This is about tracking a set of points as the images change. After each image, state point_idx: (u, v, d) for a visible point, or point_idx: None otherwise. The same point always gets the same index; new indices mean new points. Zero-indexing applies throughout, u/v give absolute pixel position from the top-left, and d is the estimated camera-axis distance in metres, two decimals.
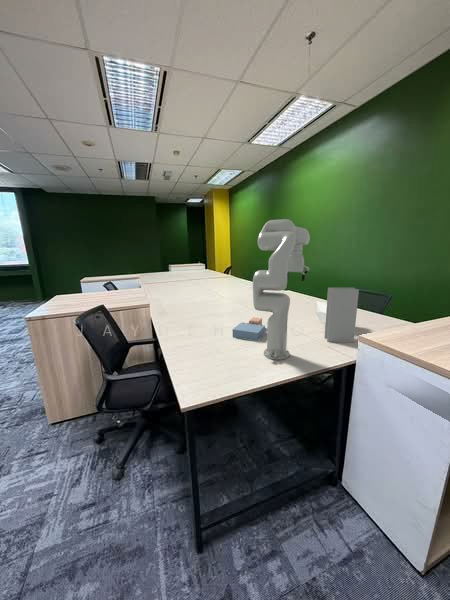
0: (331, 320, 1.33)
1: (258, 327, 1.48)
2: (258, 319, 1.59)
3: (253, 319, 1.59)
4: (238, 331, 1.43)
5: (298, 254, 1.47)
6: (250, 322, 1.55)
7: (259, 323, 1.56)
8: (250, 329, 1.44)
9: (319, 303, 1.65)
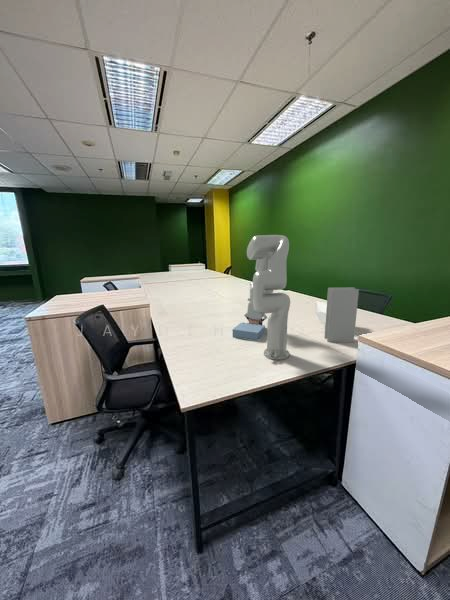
0: (331, 320, 1.33)
1: (258, 327, 1.48)
2: (258, 319, 1.59)
3: (253, 319, 1.59)
4: (238, 331, 1.43)
5: None
6: (250, 322, 1.55)
7: None
8: (250, 329, 1.44)
9: (319, 303, 1.65)
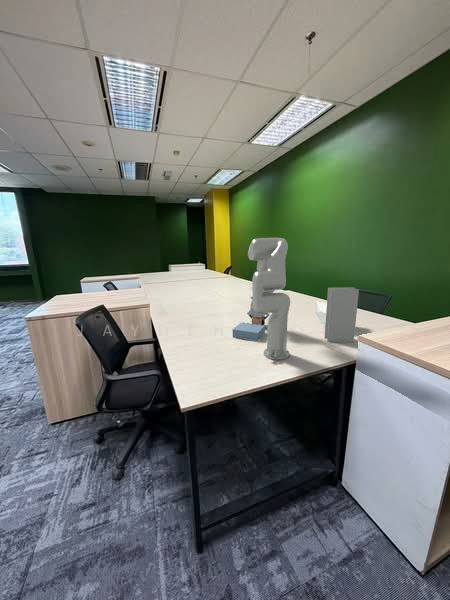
0: (331, 320, 1.33)
1: (258, 327, 1.48)
2: (260, 317, 1.63)
3: (256, 317, 1.64)
4: (238, 331, 1.43)
5: None
6: (253, 320, 1.60)
7: (261, 321, 1.61)
8: (250, 329, 1.44)
9: (319, 303, 1.65)
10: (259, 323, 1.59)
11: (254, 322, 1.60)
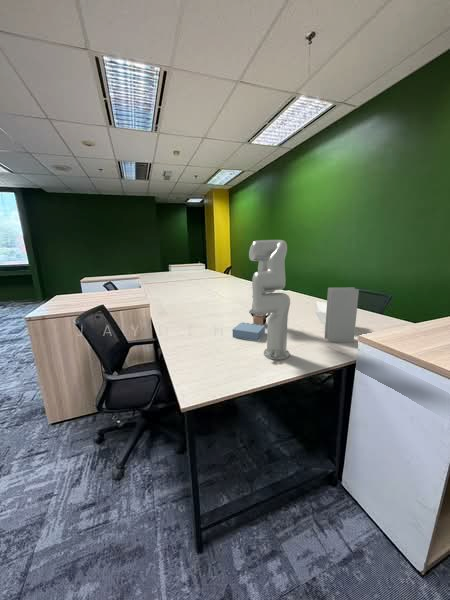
0: (331, 320, 1.33)
1: (258, 327, 1.48)
2: (262, 315, 1.66)
3: (257, 315, 1.67)
4: (238, 331, 1.43)
5: None
6: (254, 318, 1.63)
7: None
8: (250, 329, 1.44)
9: (319, 303, 1.65)
10: (261, 321, 1.62)
11: (256, 321, 1.63)
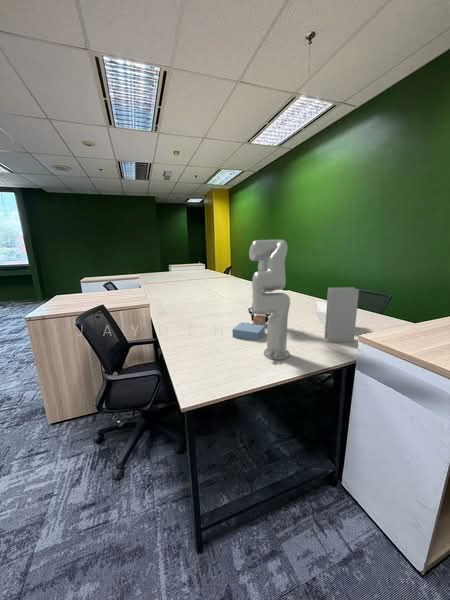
0: (331, 320, 1.33)
1: (258, 327, 1.48)
2: (262, 315, 1.66)
3: (257, 315, 1.66)
4: (238, 331, 1.43)
5: None
6: (254, 318, 1.63)
7: (263, 319, 1.64)
8: (250, 329, 1.44)
9: (319, 303, 1.65)
10: (260, 322, 1.61)
11: (256, 321, 1.63)
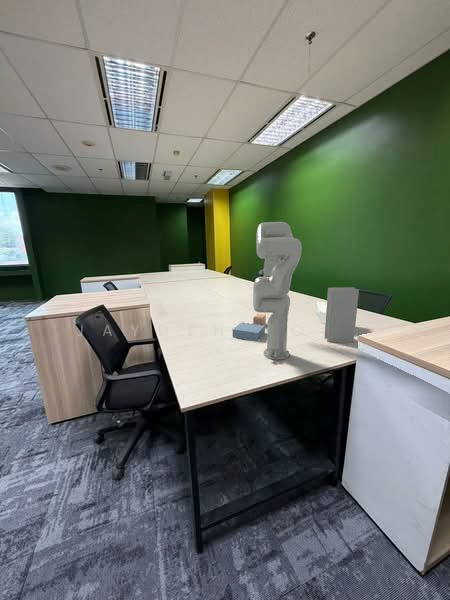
0: (331, 320, 1.33)
1: (258, 327, 1.48)
2: (262, 315, 1.66)
3: (257, 315, 1.66)
4: (238, 331, 1.43)
5: None
6: (254, 318, 1.63)
7: (263, 319, 1.64)
8: (250, 329, 1.44)
9: (319, 303, 1.65)
10: (260, 322, 1.61)
11: (256, 321, 1.63)
